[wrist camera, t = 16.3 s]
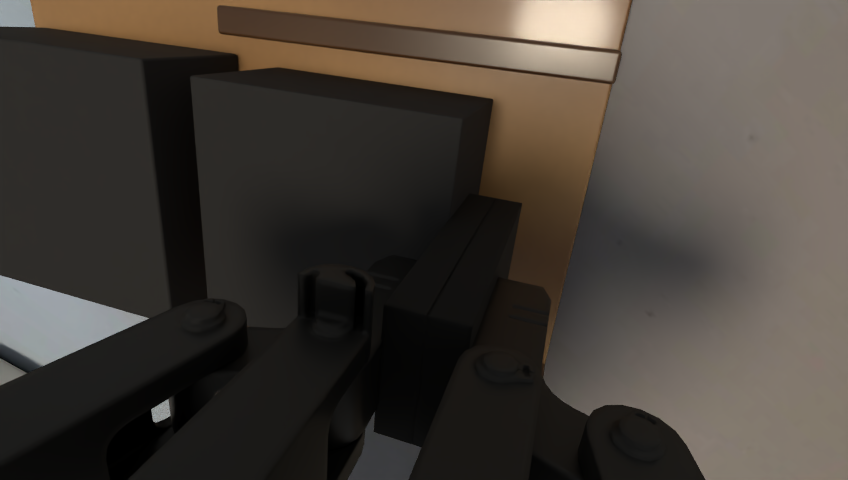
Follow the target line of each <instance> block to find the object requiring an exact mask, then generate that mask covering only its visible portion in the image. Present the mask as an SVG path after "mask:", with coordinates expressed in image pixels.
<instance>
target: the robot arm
mask: <svg viewBox="0 0 848 480" xmlns="http://www.w3.org/2000/svg"><path fill="white" fill-rule="evenodd" d="M521 207H522V203H519V202H514V201H508V200H503V199H498V198H493V197H487V196H482V195H477V194H471V193H469V195H468V196H467V197H466V199H465V200H464V201H463V203H462V204H461V205H460V207H459V208H458V209H457V211H456V212H455V213H454V215H453V216H452V217H451V219H449V220H448V222H447V223H446V224H445V226H444V227H443V228H442V230H441V231H440V232H439V233H438V235H437V236H436V237H435V239H434V240H433V241H432V243H431V244H430V245H429V246H428V248H427V249H426V250H425V252H424V253H423V254H422V256H421V257H420V258H419V259H418V260H414V259H409V258H405V257H400V256H396V255H391V256H388V257H386V258H383V259H381V260H378V261H376V262H375V263H374V264H373V265H372V266H371V267H370V268H369V269H368V270H367V271H366V272H365V271H364V270H362V269H359V268H356V267H353V266H349V265H341V264H322V265H317V266H313V267H309V268H307V269H305V270H303V271H301V272H299V273H298V316H297V317H296V318H295V319H294V320H293V321H292V322H291V323H290V324H289V325H288V326H287V327H286V328H266V327H247V317H246V313H245V309H243V308H242V307H241V306H240V305H238V304H237V303H234V302H231V301H228V300H225V299H215V298H207V299H202V300H195V301H191V302H188V303H185V304H182V305H179V306H176V307H174V308H172V309H170V310H167V311H165V312H163V313H161V314H158V315H156V316H154V317H152V318H149V319H147V320H145V321H143V322H141V323H138V324H136V325H134V326H132V327H129V328H127V329H125V330H123V331H120V332H118V333H116V334H114V335H112V336H109V337H107V338H105V339H103V340H100V341H98V342H96V343H94V344H91V345H89V346H87V347H85V348H83V349H80V350H78V351H76V352H74V353H71V354H69V355H67V356H65V357H63V358H60V359H58V360H56V361H54V362H51V363H49V364H47V365H45V366H42V367H40V368H38V369H36V370H34V371H31V372H29V373H27V374H25V375H22V376H20V377H18V378H16V379H13V380H11V381H9V382H7V383H5V384H2V385H0V480H347V479H348V477H349V475H350V474H351V472H352V470H353V468H354V466H355V464H356V463H357V461H358V459H359V457H360V455H361V453H362V449H363V445H364V437H365V428H366V426H367V424H368V422H369V421H370V419H371V417H372V415H373V414H374V412H375V421H374V432H375V433H378V434H381V435H385V436H388V437H391V438H394V439H397V440H400V441H404V442H407V443H410V444H413V445H416V446H420V447H422V448H421V451H420V453H419V455H418V458H417V460H416V463H415V465H414V468H413V470H412V472H411V475H410V477H409V480H705V478H704V476H703V475H702V473H701V471H700V469H699V467H698V465H697V464H696V462H695V460H694V458H693V456H692V454H691V453H690V451H689V449H688V447H687V445H686V444H685V443H684V441H683V440H682V439H681V438H680V436H679V435H678V434H677V432H676V431H675V430H673V429H672V428H671V427H670V426H668V425H667V424H666V423H664V422H663V421H662V420H661V419H659V418H657V417H655V416H653V415H651V414H649V413H647V412H645V411H643V410H641V409H637V408H632V407H628V406H624V405H605V406H603V407H600V408H598V409H596V410H593V412H592V413H591V415H590V416H588V415H586V414H584V413H582V412H580V411H578V410H576V409H574V408H572V407H571V406H569V405H568V404H566V403H564V402H563V401H561V400H560V399H559V398H558V397H557V396H555V395H554V394H553V393H552V392H551V390H550V389H549V388H548V387H547V385H546V384H545V382H544V379H543V377H542V362H543V355H544V348H545V341H546V334H547V326H548V320H549V313H550V307H551V299H550V297H549V296H548V294H547V292H546V291H545V289H544V287H540V286H536V285H532V284H527V283H523V282H518V281H514V280H509V279H508V276H509V271H510V265H511V260H512V255H513V249H514V244H515V239H516V234H517V228H518V223H519V218H520V213H521ZM167 399H169V406H170V414H171V416H170V417H168V418H166V419H164V420H162V421H159V422H157V423H155V422H153V419H152V412H151V409H152V408H154V407H155V406H157V405H159V404H160V403H162V402H164V401H165V400H167Z"/></svg>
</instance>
